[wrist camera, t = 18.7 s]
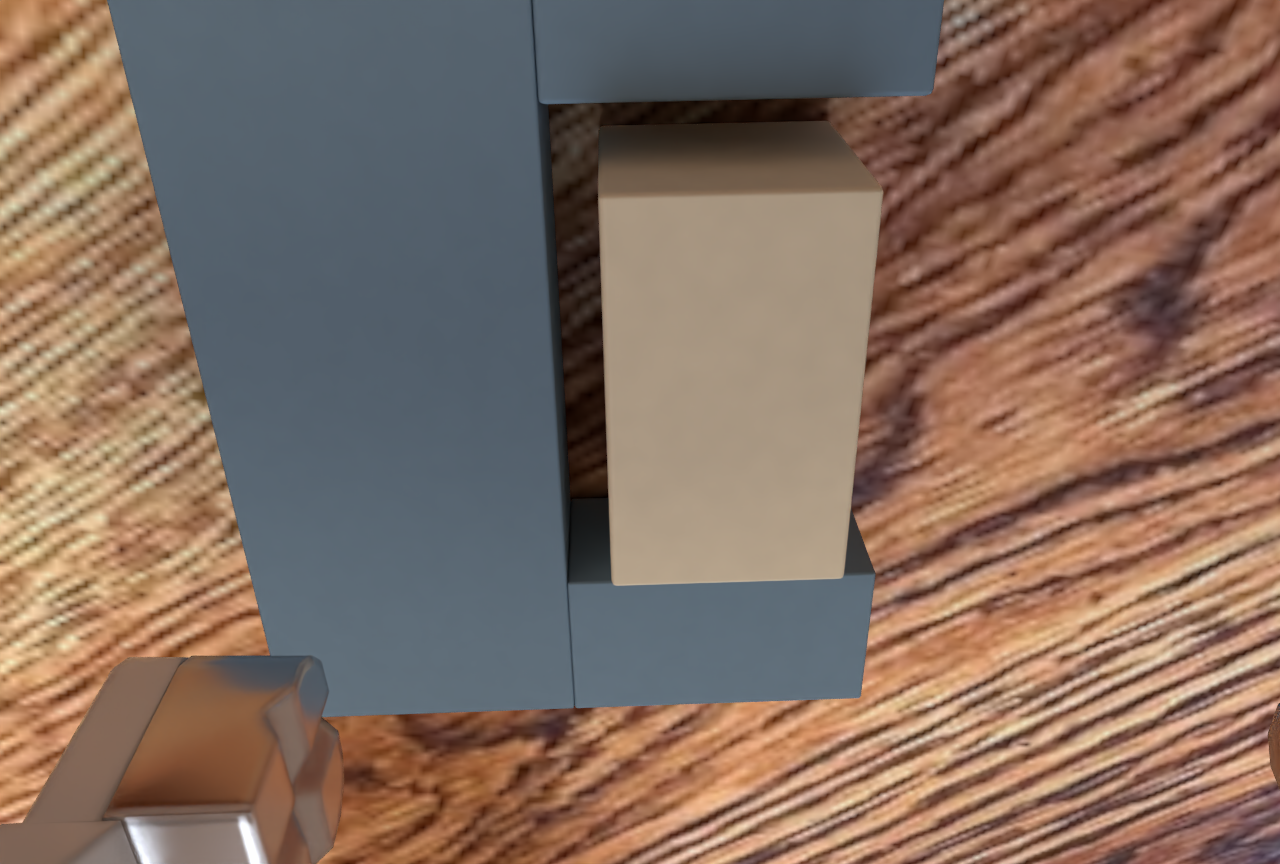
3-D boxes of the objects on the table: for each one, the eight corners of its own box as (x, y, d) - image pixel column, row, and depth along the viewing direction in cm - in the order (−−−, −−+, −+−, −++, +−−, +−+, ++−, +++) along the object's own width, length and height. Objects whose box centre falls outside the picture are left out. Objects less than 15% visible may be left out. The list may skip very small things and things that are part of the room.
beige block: (597, 124, 16) (597, 193, 13) (830, 119, 16) (885, 187, 13) (609, 465, 19) (611, 588, 16) (805, 459, 19) (844, 580, 16)
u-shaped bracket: (154, -142, 14) (70, -138, 12) (908, -155, 14) (965, -154, 12) (318, 624, 20) (284, 719, 18) (833, 607, 20) (861, 699, 18)
